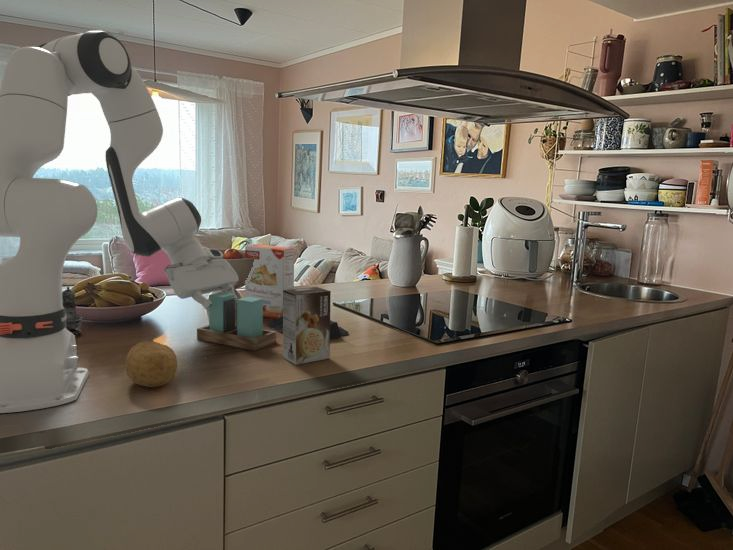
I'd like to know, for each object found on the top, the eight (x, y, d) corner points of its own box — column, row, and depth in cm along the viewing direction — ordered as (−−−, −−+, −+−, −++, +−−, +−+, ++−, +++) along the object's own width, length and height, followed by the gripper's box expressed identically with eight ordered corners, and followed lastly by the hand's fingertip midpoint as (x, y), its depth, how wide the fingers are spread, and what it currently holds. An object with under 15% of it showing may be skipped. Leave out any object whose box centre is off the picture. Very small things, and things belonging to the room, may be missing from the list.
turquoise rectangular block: (262, 337, 138) (262, 298, 137) (251, 341, 134) (251, 301, 133) (246, 334, 140) (246, 296, 139) (235, 338, 136) (235, 299, 135)
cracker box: (243, 314, 167) (243, 245, 163) (256, 310, 172) (256, 243, 169) (282, 320, 161) (283, 249, 157) (294, 316, 166) (295, 247, 163)
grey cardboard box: (316, 351, 133) (317, 286, 130) (330, 359, 128) (332, 290, 125) (281, 357, 127) (282, 289, 125) (295, 365, 122) (296, 294, 120)
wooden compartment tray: (276, 342, 139) (276, 331, 139) (255, 350, 132) (255, 339, 131) (219, 331, 147) (219, 321, 146) (197, 338, 139) (196, 328, 139)
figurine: (52, 333, 139) (49, 286, 137) (73, 328, 145) (71, 283, 143) (66, 337, 137) (64, 289, 135) (88, 331, 142) (86, 285, 140)
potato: (166, 369, 117) (166, 332, 115) (187, 391, 105) (187, 350, 104) (117, 377, 111) (115, 338, 110) (133, 400, 100) (132, 358, 99)
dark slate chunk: (308, 320, 165) (309, 304, 164) (352, 337, 148) (353, 320, 147) (262, 326, 155) (262, 310, 154) (303, 346, 138) (304, 327, 137)
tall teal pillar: (236, 332, 142) (236, 294, 140) (224, 336, 138) (224, 297, 136) (220, 330, 144) (220, 292, 142) (209, 333, 140) (208, 295, 138)
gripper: (167, 258, 132) (199, 303, 129) (225, 250, 150) (254, 289, 147) (154, 274, 134) (185, 319, 132) (212, 265, 152) (240, 304, 150)
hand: (222, 303), depth 140 cm, fingers open, 8 cm apart
